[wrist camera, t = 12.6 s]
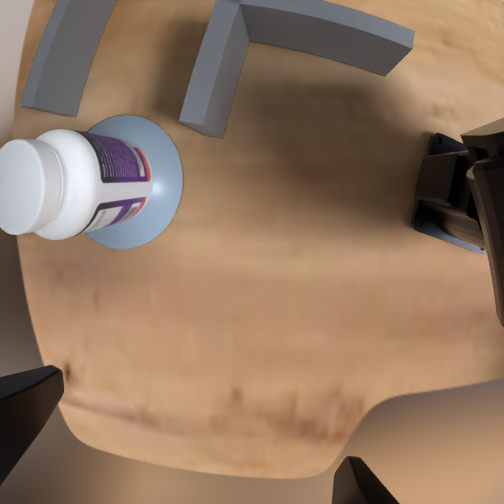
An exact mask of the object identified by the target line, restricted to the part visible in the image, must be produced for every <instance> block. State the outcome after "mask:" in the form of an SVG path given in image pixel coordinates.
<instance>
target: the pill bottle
mask: <svg viewBox="0 0 504 504" xmlns="http://www.w3.org/2000/svg"><path fill="white" fill-rule="evenodd" d="M152 188H153V171H152V167H151V164H150V161H149V159H148V157H147V155H146V154H145V153H144V151H143V150H142V149H141V148H139V147H138V146H137V145H135V144H133V143H131V142H129V141H125V140H122V139H117V138H111V137H106V136H101V135H96V134H91V133H86V132H80V131H75V130H68V129H55V130H51V131H48V132H45V133H43V134H41V135H40V136H38V137H37V138H36V139H15V140H12V141H10V142H8V143H6V144H5V145H4V146H3V147H2V148H1V149H0V228H2V229H3V230H4V231H5V232H7V233H9V234H13V235H20V234H24V233H29V232H35V233H36V234H38V235H39V236H41V237H43V238H46V239H50V240H61V239H66V238H70V237H73V236H77V235H80V234H83V233H87V232H90V231H93V230H97V229H100V228H104V227H107V226H111V225H114V224H117V223H121V222H124V221H127V220H129V219H131V218H133V217H134V216H136V215H137V214H138V213H140V212H141V211H142V209H143V208H144V207H145V205H146V204H147V202H148V200H149V198H150V195H151V192H152Z"/></svg>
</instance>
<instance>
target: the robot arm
mask: <svg viewBox="0 0 504 504" xmlns="http://www.w3.org/2000/svg"><path fill="white" fill-rule="evenodd" d="M460 136H461V138H462V141H463V144H462V143H460V142H458V141H456V140H454V139H452V138H450V137H448V136H445V135H443V134H441V133H436V134H433V135H432V136H431V138H430V143H429V148H428V153H427V156H426V157H425V158H423V162H422V166H421V171H420V175H419V179H418V184H417V188H416V192H415V196H416V199H417V200H416V204H415V208H414V212H413V215H412V219H411V227H412V228H413V229H414V230H416V231H418V232H421V233H424V234H427V235H430V236H433V237H436V238H439V239H442V240H444V241H447V242H450V243H453V244H456V245H458V246H461V247H464V248H467V249H469V250H472V251H475V252H477V253H480V254H484V253H485V252H486V251H487V255H488V260H489V265H490V270H491V276H492V282H493V289H494V295H495V303H496V311H497V315H498V318H499V320H500V322H501V324H502V326H503V327H504V118H502V119H499V120H497V121H494V122H492V123H489V124H487V125H484V126H482V127H479V128H477V129H474V130H472V131H469V132H467V133H464V134H462V135H460ZM436 138H439V140H440V144H438V143H437V142H436ZM418 220H420V221H421V225H420V226H419V227H417V225H416V224H417V221H418ZM480 248H481V249H480ZM63 393H64V382H63V372H62V370H61V369H59V368H57V367H55V366H53V365H48V366H44V367H40V368H37V369H32V370H28V371H24V372H20V373H16V374H12V375H7V376H3V377H0V486H1V484H2V483H3V481H4V480H5V479H6V477H7V476H8V475H9V473H10V472H11V470H12V469H13V468H14V466H15V465H16V463H17V462H18V461H19V459H20V458H21V457H22V455H23V454H24V453H25V451H26V450H27V449H28V447H29V446H30V445H31V443H32V442H33V441H34V439H35V438H36V437H37V436H38V434H39V433H40V432H41V430H42V429H43V427H44V426H45V424H46V422H47V421H48V419H49V417H50V415H51V414H52V412H53V410H54V409H55V407H56V406H57V404H58V402H59V401H60V399H61V397H62V396H63ZM332 504H399V503H398V501H397V500H396V499H395V498H394V497H393V495H392V494H391V493H390V492H389V491H388V490H387V488H386V487H385V486H384V485H383V484H382V483H381V481H379V479H378V478H377V477H376V476H375V474H374V473H373V472H372V471H371V470H370V468H369V467H368V466H367V465H366V464H365V463H364V461H363V460H362V459H361V458H360V457H355V456H347V457H346V458H345V459H344V461H343V462H342V463H341V465H340V466H339V468H338V469H337V470H336V472H335V475H334V484H333V495H332Z"/></svg>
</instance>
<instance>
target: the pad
mask: <svg viewBox="0 0 504 504" xmlns="http://www.w3.org/2000/svg"><path fill="white" fill-rule="evenodd" d="M87 133H91V134H96V135H101V136H106V137H111V138H117V139H122V140H125V141H129V142H131V143H133V144H135V145H137V146H138V147H139V148H141V149H142V150H143V151H144V153H145V154H146V155H147V157H148V159H149V161H150V164H151V167H152V171H153V188H152V192H151V195H150V198H149V200H148V202H147V204H146V205H145V207H144V208H143V209H142V211H141V212H140V213H138V214H137V215H136V216H134V217H133V218H131V219H129V220H127V221H124V222H121V223H117V224H114V225H111V226H107V227H104V228H100V229H97V230H93V231H90V232H87V233H86V234H87V235H88V236H89V237H90V238H91V239H93V240H94V241H96V242H97V243H99V244H101V245H103V246H106V247H109V248H113V249H131V248H136V247H139V246H141V245H144V244H146V243H148V242H150V241H151V240H153V239H155V238H156V237H157V236H158V235H160V234H161V233H162V232H163V231H164V230H165V229H166V227H167V226H168V225H169V223H170V222H171V221H172V219H173V217H174V215H175V214H176V211H177V209H178V206H179V204H180V200H181V197H182V191H183V167H182V162H181V158H180V155H179V152H178V150H177V148H176V146H175V144H174V142H173V141H172V139H171V138H170V136H169V135H168V134H167V133H166V132H165V131H164V130H163V129H162V128H161V127H160V126H158V125H157V124H155V123H154V122H152V121H150V120H148V119H145V118H142V117H139V116H134V115H120V116H115V117H111V118H108V119H106V120H104V121H102V122H100V123H98V124H97V125H95V126H94V127H93V128H92V129H90V130H89V131H88V132H87Z"/></svg>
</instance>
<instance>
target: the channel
mask: <svg viewBox="0 0 504 504" xmlns="http://www.w3.org/2000/svg"><path fill="white" fill-rule="evenodd" d="M115 2H116V0H58V1H57V4H56V6H55V8H54V10H53V12H52V15H51V17H50V19H49V22H48V24H47V26H46V29H45V31H44V34H43V36H42V39H41V42H40V44H39V47H38V50H37V53H36V55H35V58H34V61H33V64H32V67H31V71H30V74H29V77H28V80H27V84H26V87H25V91H24V94H23V98H22V102H21V107H26V108H31V109H36V110H40V111H45V112H50V113H54V114H58V115H63V116H72V117H76V116H77V112H78V108H79V104H80V101H81V97H82V93H83V90H84V86H85V83H86V80H87V77H88V73H89V70H90V67H91V64H92V61H93V58H94V55H95V52H96V49H97V47H98V44H99V41H100V39H101V36H102V33H103V31H104V28H105V26H106V23H107V21H108V18H109V16H110V13H111V11H112V9H113V6H114V4H115ZM413 40H414V31H413V30H411V29H408V28H406V27H403V26H401V25H398V24H396V23H393V22H391V21H388V20H385V19H382V18H379V17H377V16H374V15H371V14H368V13H365V12H361V11H358V10H355V9H352V8H348V7H345V6H341V5H338V4H334V3H330V2H326V1H322V0H217V1H216V4H215V7H214V9H213V12H212V15H211V18H210V20H209V23H208V26H207V29H206V32H205V35H204V38H203V41H202V44H201V47H200V50H199V53H198V56H197V59H196V63H195V66H194V69H193V72H192V76H191V79H190V82H189V86H188V89H187V93H186V96H185V100H184V103H183V107H182V111H181V114H180V118H179V121H180V122H182V123H184V124H186V125H187V126H189V127H191V128H193V129H195V130H196V131H198V132H200V133H202V134H203V135H207V136H212V137H217V138H222V139H223V135H224V132H225V128H226V124H227V120H228V116H229V112H230V109H231V105H232V101H233V98H234V94H235V90H236V87H237V83H238V80H239V76H240V73H241V69H242V66H243V62H244V59H245V55H246V52H247V49H248V45H249V42H250V41H251V42H257V43H263V44H268V45H274V46H279V47H283V48H288V49H293V50H297V51H301V52H306V53H310V54H314V55H318V56H321V57H325V58H329V59H332V60H336V61H339V62H343V63H346V64H349V65H353V66H356V67H359V68H362V69H365V70H368V71H371V72H374V73H377V74H379V75H382V76H386V75H387V74H388V73H389V72H390V71H391V70H392V69H393V68H394V67H395V66H396V65H397V64H398V63H399V62H400V61H401V60H402V59H403V58H404V57H405V56H406V55H407V54H408V53H409V52H410V51H411V50H412V49H413Z"/></svg>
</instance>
